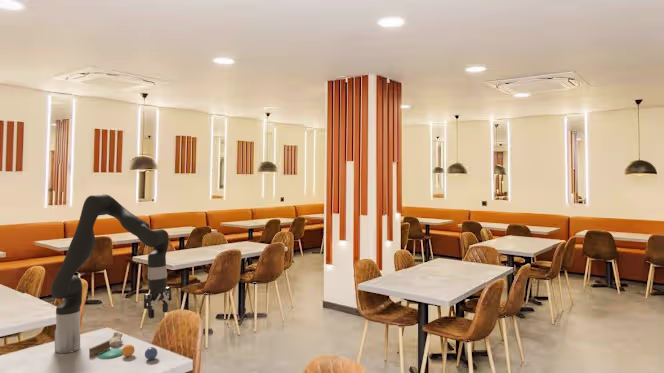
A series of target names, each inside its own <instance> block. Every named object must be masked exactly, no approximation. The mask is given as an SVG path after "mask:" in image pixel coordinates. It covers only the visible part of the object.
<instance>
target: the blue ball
mask: <svg viewBox="0 0 664 373" xmlns="http://www.w3.org/2000/svg"><path fill="white" fill-rule="evenodd" d="M157 356H158V350H157V348H156V347H155V346H154V347H153V346H150V347H148V348H147V349H146V350H145V351H144V357H145V359H147V360H150V361H152V360H154V359H156V357H157Z"/></svg>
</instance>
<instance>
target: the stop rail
mask: <svg viewBox="0 0 664 373" xmlns="http://www.w3.org/2000/svg"><path fill="white" fill-rule="evenodd" d="M110 342H111V341H110V340H109V341H108V340H106V341H104V342H101V343H99V344H96V345H94V346H92V347H90V348H89V355H88V356H89V357H90V358H92V357H95V356H96V355H97V356H98V354H100V353H101V352H104V351H107V350H111V347H110V346H111V345H110Z"/></svg>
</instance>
